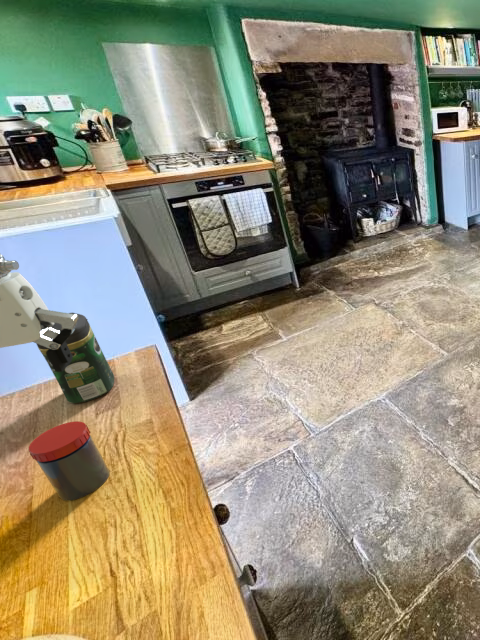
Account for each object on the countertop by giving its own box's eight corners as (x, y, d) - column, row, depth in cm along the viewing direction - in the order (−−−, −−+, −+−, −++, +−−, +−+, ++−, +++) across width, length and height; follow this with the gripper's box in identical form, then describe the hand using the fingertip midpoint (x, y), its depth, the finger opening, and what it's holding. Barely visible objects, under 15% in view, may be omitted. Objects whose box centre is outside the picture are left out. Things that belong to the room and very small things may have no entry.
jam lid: (97, 424, 71) (93, 416, 71) (79, 453, 66) (75, 445, 65) (46, 436, 69) (41, 428, 68) (23, 468, 63) (17, 459, 62)
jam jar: (50, 506, 67) (21, 461, 63) (69, 474, 72) (44, 431, 68) (100, 492, 70) (76, 448, 65) (115, 462, 75) (93, 420, 71)
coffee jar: (69, 386, 92) (33, 317, 85) (115, 371, 97) (85, 305, 90) (65, 410, 86) (25, 338, 78) (115, 393, 91) (82, 324, 83)
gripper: (64, 254, 61) (106, 347, 68) (-109, 272, 54) (-42, 373, 61) (36, 275, 55) (85, 375, 62) (-163, 298, 48) (-83, 407, 55)
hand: (22, 374), depth 61 cm, fingers open, 9 cm apart
